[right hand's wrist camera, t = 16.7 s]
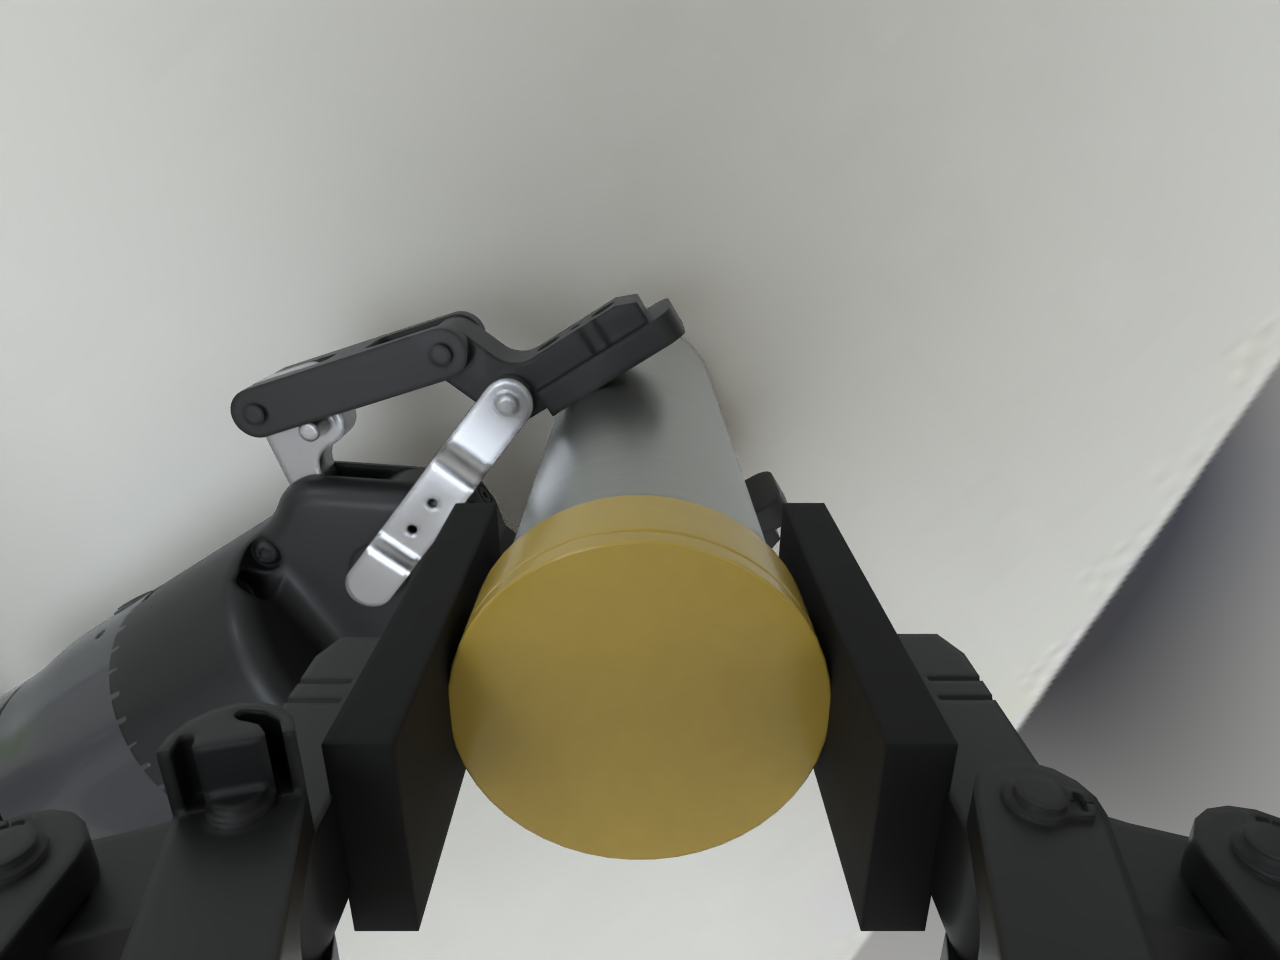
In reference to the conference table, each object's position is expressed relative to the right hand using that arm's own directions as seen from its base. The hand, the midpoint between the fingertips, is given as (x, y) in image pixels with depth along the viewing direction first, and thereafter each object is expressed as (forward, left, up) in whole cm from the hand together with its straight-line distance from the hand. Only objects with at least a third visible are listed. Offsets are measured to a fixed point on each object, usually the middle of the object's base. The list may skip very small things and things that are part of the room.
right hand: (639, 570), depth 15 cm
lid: (0, 0, +4) cm, 4 cm away
